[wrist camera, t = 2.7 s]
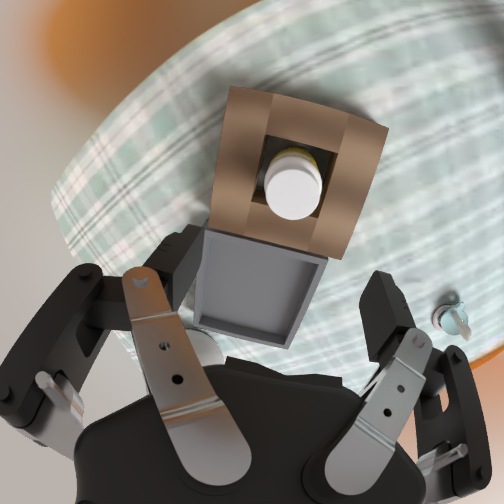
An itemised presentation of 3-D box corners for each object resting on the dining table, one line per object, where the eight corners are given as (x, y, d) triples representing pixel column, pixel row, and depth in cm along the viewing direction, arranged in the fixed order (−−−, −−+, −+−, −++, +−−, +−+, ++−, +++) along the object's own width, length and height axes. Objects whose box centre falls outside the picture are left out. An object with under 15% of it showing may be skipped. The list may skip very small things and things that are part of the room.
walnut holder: (238, 87, 23) (230, 85, 20) (378, 124, 22) (389, 128, 19) (216, 213, 30) (207, 226, 27) (337, 243, 30) (341, 260, 27)
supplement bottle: (310, 194, 27) (315, 232, 20) (266, 184, 28) (254, 218, 21) (322, 151, 25) (332, 173, 18) (275, 140, 25) (266, 157, 18)
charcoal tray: (207, 218, 31) (200, 228, 29) (326, 248, 30) (328, 260, 28) (198, 314, 40) (193, 325, 37) (289, 336, 39) (287, 349, 37)
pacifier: (436, 333, 35) (466, 316, 33) (446, 363, 30) (478, 345, 27) (426, 309, 33) (459, 290, 30) (438, 341, 28) (474, 320, 25)
